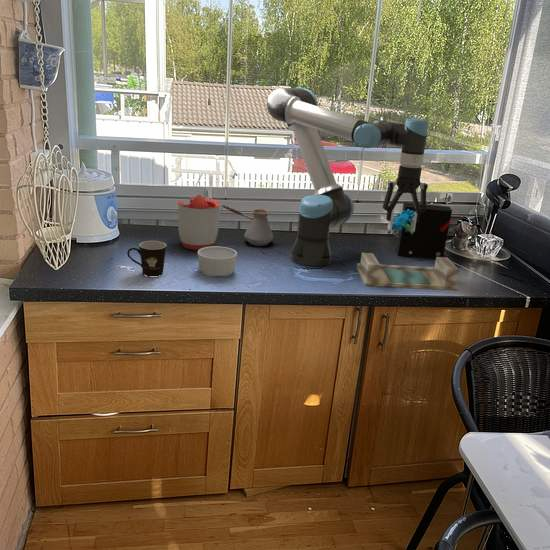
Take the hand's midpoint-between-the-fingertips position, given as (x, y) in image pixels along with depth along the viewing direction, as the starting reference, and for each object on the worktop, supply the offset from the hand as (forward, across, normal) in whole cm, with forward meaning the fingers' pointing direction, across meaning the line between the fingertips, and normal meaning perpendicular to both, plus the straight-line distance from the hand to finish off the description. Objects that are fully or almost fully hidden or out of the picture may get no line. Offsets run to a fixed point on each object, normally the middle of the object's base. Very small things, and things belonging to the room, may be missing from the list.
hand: (400, 230), depth 202 cm
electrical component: (+16, +15, +20) cm, 29 cm away
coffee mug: (+15, -87, -13) cm, 89 cm away
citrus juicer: (+15, -73, +18) cm, 76 cm away
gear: (+1, 0, 0) cm, 1 cm away
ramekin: (+15, -64, -8) cm, 67 cm away
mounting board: (+15, +2, -8) cm, 18 cm away
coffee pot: (+15, -54, +24) cm, 61 cm away
